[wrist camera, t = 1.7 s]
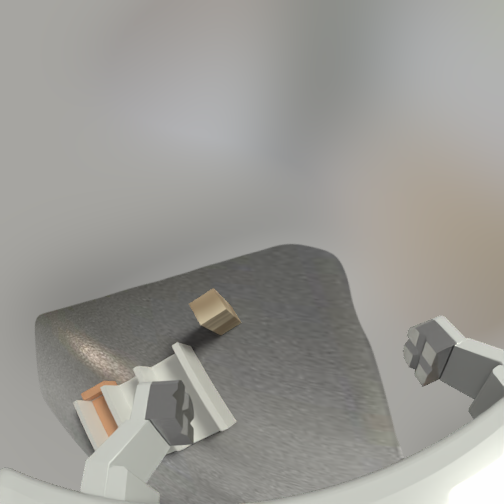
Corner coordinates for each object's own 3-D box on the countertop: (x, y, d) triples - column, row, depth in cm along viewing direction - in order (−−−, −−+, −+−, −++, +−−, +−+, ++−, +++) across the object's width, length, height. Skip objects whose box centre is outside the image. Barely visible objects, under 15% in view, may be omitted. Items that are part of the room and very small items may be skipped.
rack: (236, 421, 34) (228, 428, 29) (125, 468, 32) (108, 475, 27) (187, 339, 40) (173, 334, 35) (89, 396, 38) (70, 395, 33)
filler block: (241, 322, 40) (226, 309, 32) (221, 335, 39) (200, 325, 31) (230, 305, 41) (213, 288, 33) (210, 318, 41) (188, 303, 33)
